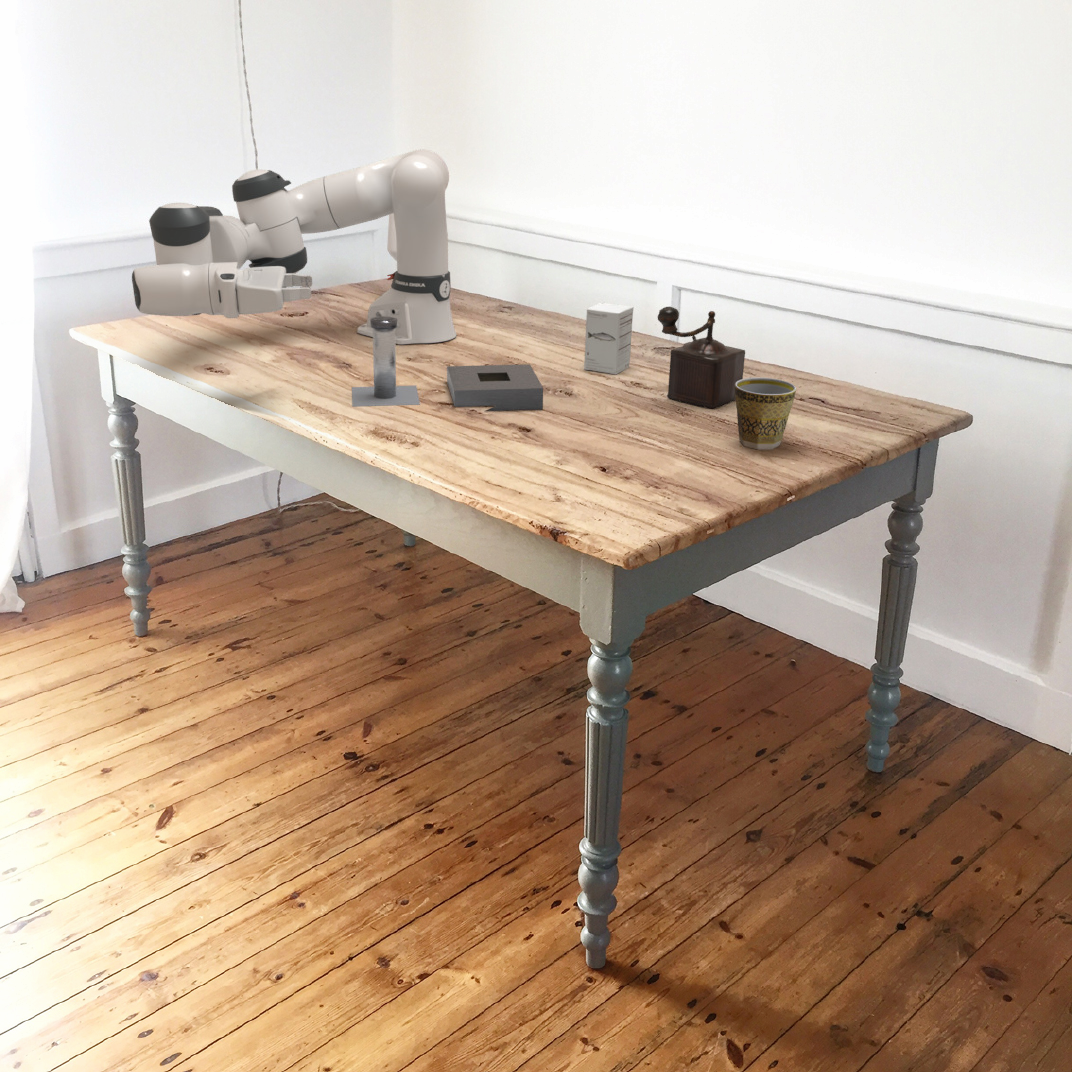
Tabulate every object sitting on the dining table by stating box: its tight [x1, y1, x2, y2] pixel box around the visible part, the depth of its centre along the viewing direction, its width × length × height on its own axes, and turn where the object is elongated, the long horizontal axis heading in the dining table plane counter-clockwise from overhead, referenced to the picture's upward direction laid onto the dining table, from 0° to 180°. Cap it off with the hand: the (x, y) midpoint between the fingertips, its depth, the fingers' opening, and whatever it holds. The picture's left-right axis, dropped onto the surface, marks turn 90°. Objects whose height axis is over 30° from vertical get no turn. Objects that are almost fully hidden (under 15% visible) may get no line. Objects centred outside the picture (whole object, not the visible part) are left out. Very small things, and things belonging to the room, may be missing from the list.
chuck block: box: [446, 363, 544, 412], centre depth 213 cm, size 16×16×4 cm
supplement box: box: [583, 302, 634, 376], centre depth 231 cm, size 7×7×13 cm
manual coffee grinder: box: [657, 306, 746, 410], centre depth 211 cm, size 16×11×18 cm
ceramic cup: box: [734, 377, 797, 451], centre depth 192 cm, size 13×10×10 cm
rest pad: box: [351, 385, 421, 408], centre depth 211 cm, size 12×12×1 cm
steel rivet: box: [370, 317, 397, 398], centre depth 208 cm, size 5×5×14 cm
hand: (311, 286), depth 199 cm, fingers open, 8 cm apart
